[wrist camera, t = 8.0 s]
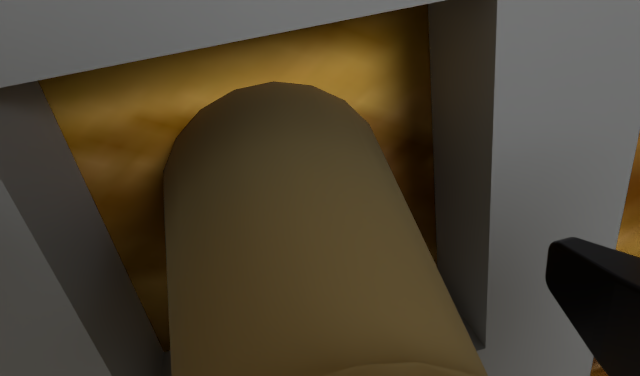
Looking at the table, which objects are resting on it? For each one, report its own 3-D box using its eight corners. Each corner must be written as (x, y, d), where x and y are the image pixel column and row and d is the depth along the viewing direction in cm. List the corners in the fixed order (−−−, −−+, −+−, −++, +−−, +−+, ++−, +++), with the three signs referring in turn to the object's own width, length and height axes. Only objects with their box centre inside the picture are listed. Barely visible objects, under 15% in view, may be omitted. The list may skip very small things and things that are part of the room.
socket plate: (582, -234, 9) (730, -315, 6) (527, 327, 17) (585, 395, 14) (-288, -110, 7) (-566, -150, 5) (93, 451, 15) (66, 554, 12)
